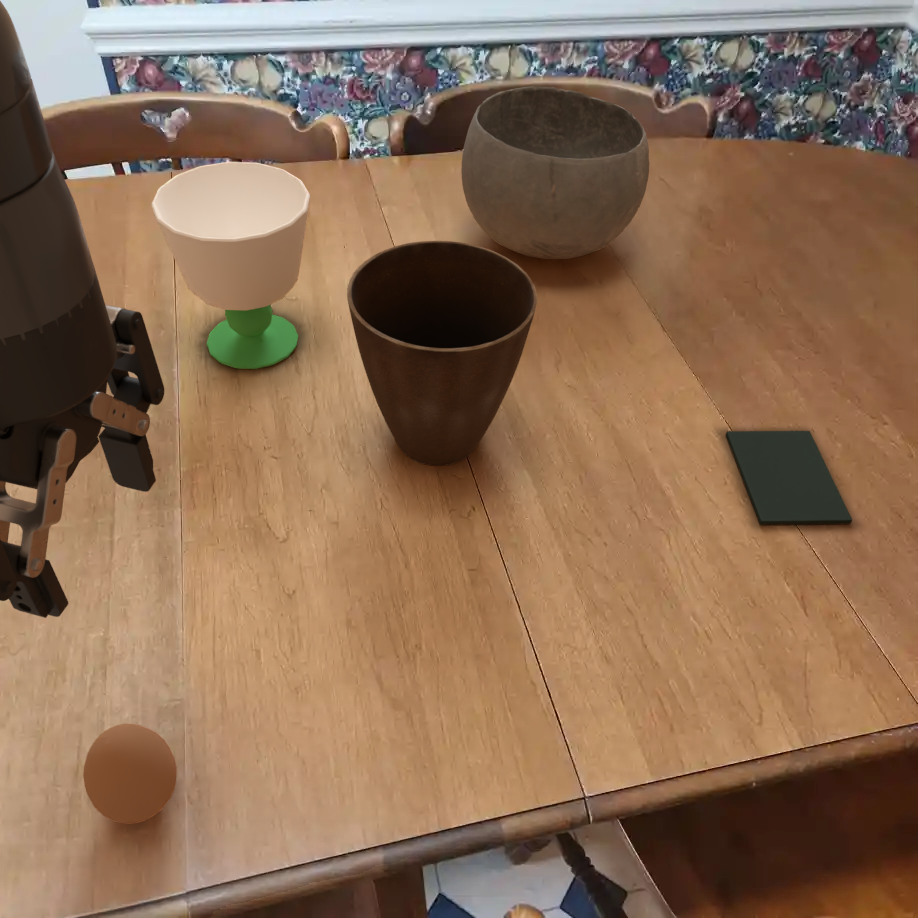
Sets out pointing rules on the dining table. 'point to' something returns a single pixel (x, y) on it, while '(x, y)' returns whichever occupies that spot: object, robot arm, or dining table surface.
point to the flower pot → (440, 341)
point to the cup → (238, 252)
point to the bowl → (553, 171)
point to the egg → (129, 773)
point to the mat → (787, 478)
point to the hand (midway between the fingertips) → (94, 541)
